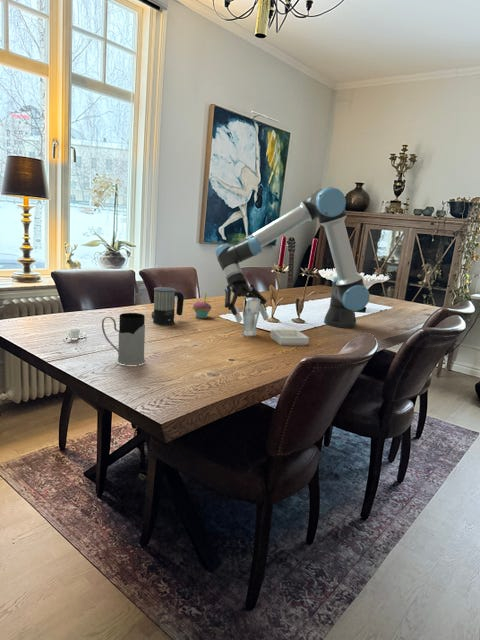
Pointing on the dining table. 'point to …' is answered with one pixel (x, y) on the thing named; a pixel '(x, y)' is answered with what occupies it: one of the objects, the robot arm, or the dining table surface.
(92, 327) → the dining table surface
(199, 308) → the cupcake
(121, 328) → the glass holder
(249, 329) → the beer glass
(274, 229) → the robot arm
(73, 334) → the teacup and saucer
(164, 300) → the milk frother
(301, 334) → the cup holder
